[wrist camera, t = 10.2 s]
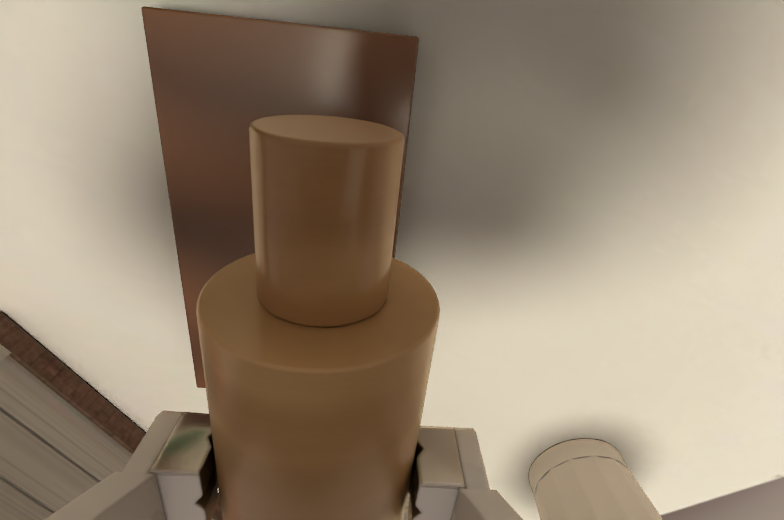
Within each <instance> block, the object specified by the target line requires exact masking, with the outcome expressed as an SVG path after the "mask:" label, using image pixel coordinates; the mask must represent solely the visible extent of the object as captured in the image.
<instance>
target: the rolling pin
mask: <svg viewBox="0 0 784 520" xmlns="http://www.w3.org/2000/svg"><path fill="white" fill-rule="evenodd" d="M404 141H405V140H404V136H403V134H402V133H401V132H399V131H397V130H395V129H393V128H391V127H388V126H385V125H382V124H378V123H374V122H369V121H364V120H358V119H351V118H343V117H333V116H320V115H278V116H269V117H263V118H260V119H257V120H254V121H252V122H251V124H250V126H249V145H250V165H251V184H252V204H253V224H254V243H255V253H253V254H250V255H247V256H245V257H243V258H240V259H238V260H236V261H234V262H232V263H230V264H228V265H227V266H225V267H224V268H222V269H221V270H219V271H218V272H217V273H216V274H214V275H213V276H212V277H211V278H210V279H209V280H208V282H207V283H206V284H205V285H204V287H203V289H202V291H201V292H200V295H199V298H198V301H197V308H196V315H197V322H198V330H199V338H200V346H201V353H202V361H203V369H204V377H205V385H206V392H207V400H208V408H209V416H210V424H211V431H212V439H213V447H214V455H215V463H216V470H217V478H218V486H219V494H220V501H221V509H222V517H223V520H403V519H404V513H405V507H406V502H407V496H408V491H409V485H410V479H411V474H412V468H413V462H414V457H415V451H416V445H417V440H418V434H419V428H420V423H421V417H422V412H423V406H424V400H425V395H426V389H427V383H428V378H429V372H430V366H431V361H432V355H433V349H434V344H435V338H436V332H437V327H438V321H439V313H440V307H439V301H438V298H437V295H436V293H435V291H434V289H433V287H432V286H431V284H430V283H429V282H428V281H427V280H426V279H425V278H424V277H423V276H422V275H421V274H420V273H419V272H418V271H416V270H415V269H413V268H412V267H410V266H409V265H407V264H405V263H403V262H401V261H399V260H397V259H395V258H392V251H393V242H394V233H395V224H396V215H397V206H398V196H399V187H400V178H401V169H402V160H403V151H404Z"/></svg>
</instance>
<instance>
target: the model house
mask: <svg viewBox="0 0 784 520" xmlns="http://www.w3.org/2000/svg"><path fill="white" fill-rule="evenodd" d="M145 434H146V433H145V432H144V431H142V430H141V429H140V428H139V427H138V426H136V425H135V424H134V423H133V422H132V421H131V420H129V419H128V418H127V417H126V416H125V415H123V414H122V413H121V412H120V411H119V410H117V409H116V408H115V407H114V406H113V405H112V404H110V403H109V402H108V401H107V400H106V399H104V398H103V397H102V396H101V395H100V394H98V393H97V392H96V391H95V390H94V389H93V388H91V387H90V386H89V385H88V384H87V383H85V382H84V381H83V380H82V379H81V378H79V377H78V376H77V375H76V374H75V373H74V372H72V371H71V370H70V369H69V368H68V367H66V366H65V365H64V364H63V363H62V362H61V361H59V360H58V359H57V358H56V357H55V356H53V355H52V354H51V353H50V352H49V351H47V350H46V349H45V348H44V347H43V346H42V345H40V344H39V343H38V342H37V341H36V340H34V339H33V338H32V337H31V336H30V335H28V334H27V333H26V332H25V331H24V330H23V329H21V328H20V327H19V326H18V325H17V324H15V323H14V322H13V321H12V320H11V319H9V318H8V317H7V316H6V315H5V314H4V313H2V312H0V520H44V519H46V518H47V517H49V516H50V515H52V514H53V513H55V512H56V511H58V510H59V509H61V508H62V507H64V506H65V505H66V504H68V503H69V502H71V501H72V500H74V499H75V498H77V497H78V496H80V495H81V494H83V493H84V492H86V491H87V490H89V489H90V488H92V487H93V486H94V485H96V484H97V483H99V482H100V481H102V480H103V479H105V478H106V477H108V476H109V475H111V474H112V473H114V472H122V471H123V469H124V468H125V466H126V464H127V463H128V461H129V460H130V458H131V456H132V455H133V453H134V452H135V450H136V448H137V447H138V445H139V444H140V442H141V441H142V439H143V437H144V436H145ZM211 520H223V517H222V509H221V501H220V495H218V503H217V505H216V508H215V511H214V513H213V516H212V519H211Z"/></svg>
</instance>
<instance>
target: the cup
mask: <svg viewBox="0 0 784 520" xmlns="http://www.w3.org/2000/svg"><path fill="white" fill-rule="evenodd" d="M529 482H530V485H531V488H532V491H533V494H534V497H535V500H536V503H537V507H538V511H539V515H540V519H541V520H663V519H662V518H661V516H660V515H659V513H658V512H657V510H656V509H655V507H654V506H653V504H652V503H651V501H650V500H649V498H648V497H647V495H646V494H645V493H644V491H643V490H642V488H641V487H640V485H639V484H638V482H637V481H636V479H635V478H634V476H633V475H632V473H631V472H630V470H629V469H628V467H627V465H626V464H625V462H624V460H623V458H622V457H621V455H620V453H619V452H618V450H617V449H616V448H614V447H613V446H612V445H610V444H608V443H606V442H603V441H600V440H595V439H576V440H570V441H566V442H563V443H560V444H557V445H555V446H553V447H551V448H549V449H548V450H546V451H544V452H543V453H542V454H541V455H540V456H538V457H537V459H536V460H535V461H534V462H533V464H532V466H531V468H530V471H529Z"/></svg>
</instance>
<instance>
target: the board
mask: <svg viewBox="0 0 784 520" xmlns="http://www.w3.org/2000/svg"><path fill="white" fill-rule="evenodd" d="M142 15H143V22H144V29H145V35H146V42H147V49H148V56H149V63H150V69H151V76H152V83H153V90H154V97H155V104H156V110H157V117H158V124H159V131H160V138H161V144H162V151H163V158H164V165H165V172H166V179H167V185H168V192H169V199H170V206H171V213H172V219H173V226H174V233H175V240H176V247H177V254H178V260H179V267H180V274H181V281H182V288H183V295H184V301H185V308H186V315H187V322H188V329H189V335H190V342H191V349H192V356H193V363H194V370H195V376H196V383H197V387H199V388H206V385H205V377H204V369H203V361H202V353H201V346H200V338H199V330H198V322H197V315H196V308H197V301H198V298H199V295H200V292H201V291H202V289H203V287H204V285H205V284H206V283H207V282H208V280H209V279H210V278H211V277H212V276H213V275H214V274H216V273H217V272H218V271H219V270H221V269H222V268H224V267H225V266H227V265H228V264H230V263H232V262H234V261H236V260H238V259H240V258H243V257H245V256H247V255H250V254H253V253H255V243H254V224H253V204H252V184H251V165H250V145H249V126H250V124H251V122H252V121H254V120H257V119H260V118H263V117H269V116H278V115H320V116H333V117H343V118H351V119H358V120H364V121H369V122H374V123H378V124H382V125H385V126H388V127H391V128H393V129H395V130H397V131H399V132H401V133H402V134H403V136H404V140H405V141H404V151H403V160H402V169H401V178H400V187H399V196H398V206H397V215H396V224H395V233H394V242H393V251H392V258H395V251H396V242H397V233H398V224H399V215H400V206H401V197H402V188H403V179H404V170H405V161H406V152H407V143H408V134H409V125H410V116H411V107H412V98H413V89H414V80H415V71H416V61H417V52H418V43H419V37H417V36H408V35H399V34H390V33H381V32H372V31H362V30H353V29H344V28H335V27H326V26H317V25H308V24H299V23H290V22H281V21H271V20H262V19H253V18H244V17H235V16H226V15H217V14H208V13H199V12H190V11H181V10H171V9H162V8H153V7H142Z"/></svg>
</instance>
